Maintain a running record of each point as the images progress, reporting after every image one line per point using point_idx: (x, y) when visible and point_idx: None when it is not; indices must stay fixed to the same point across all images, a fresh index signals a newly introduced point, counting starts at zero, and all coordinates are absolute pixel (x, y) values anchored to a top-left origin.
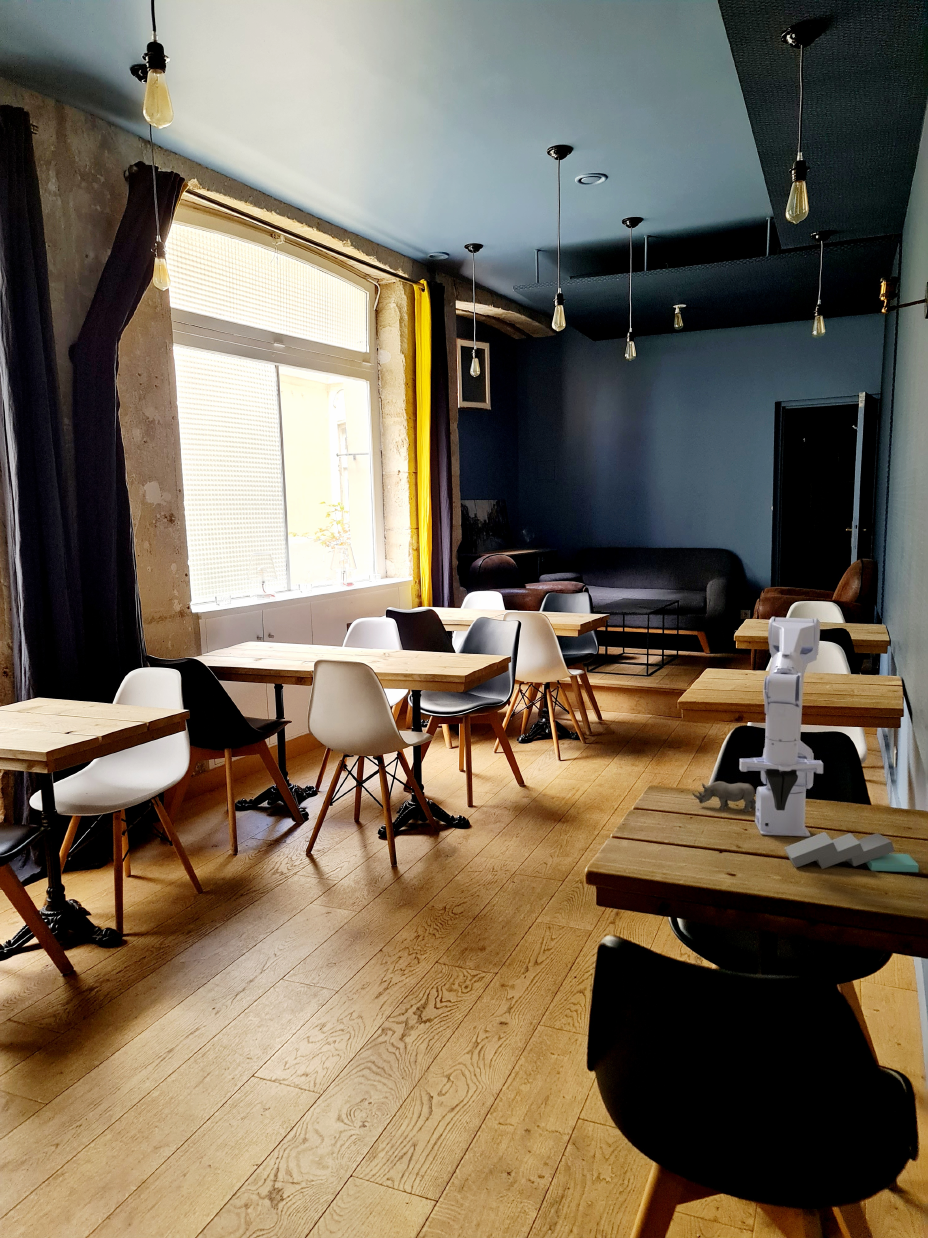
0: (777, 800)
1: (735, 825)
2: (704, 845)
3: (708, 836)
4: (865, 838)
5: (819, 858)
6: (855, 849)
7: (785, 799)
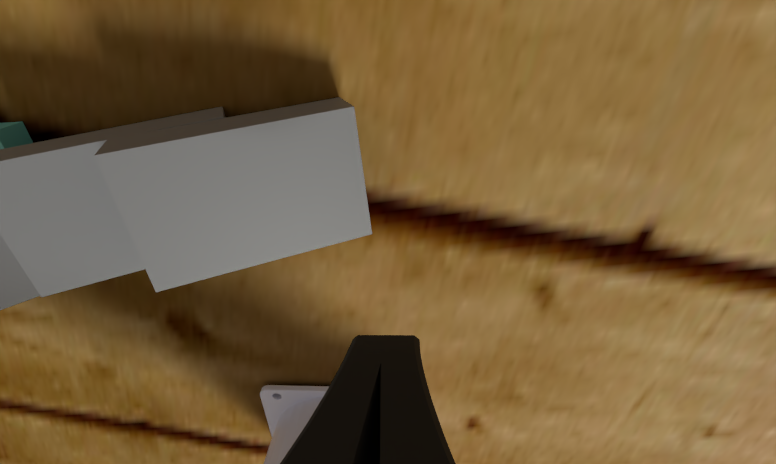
0: (419, 404)
1: (498, 448)
2: (689, 292)
3: (632, 368)
4: (7, 295)
5: (214, 121)
6: (11, 152)
7: (330, 416)
